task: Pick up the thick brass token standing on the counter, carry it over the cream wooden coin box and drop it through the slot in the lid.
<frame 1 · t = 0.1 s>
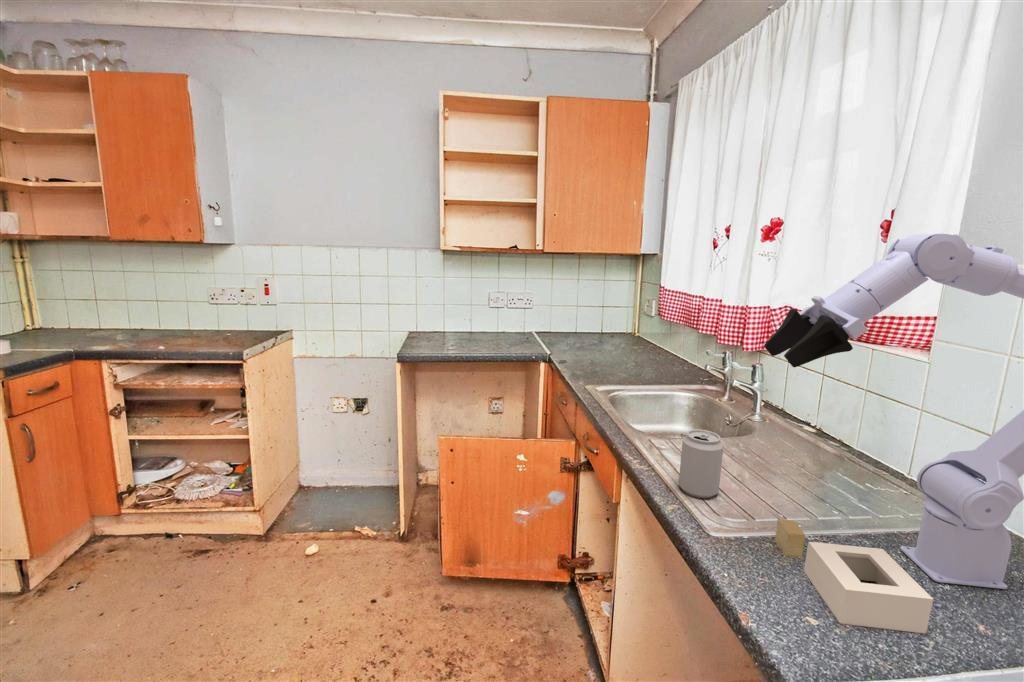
hand: (777, 356, 69), 32 cm above the countertop, tool tilted 50°, fingers open, 7 cm apart
token: (787, 549, 75), on the countertop
coin box: (859, 599, 64), on the countertop
can: (697, 491, 93), on the countertop
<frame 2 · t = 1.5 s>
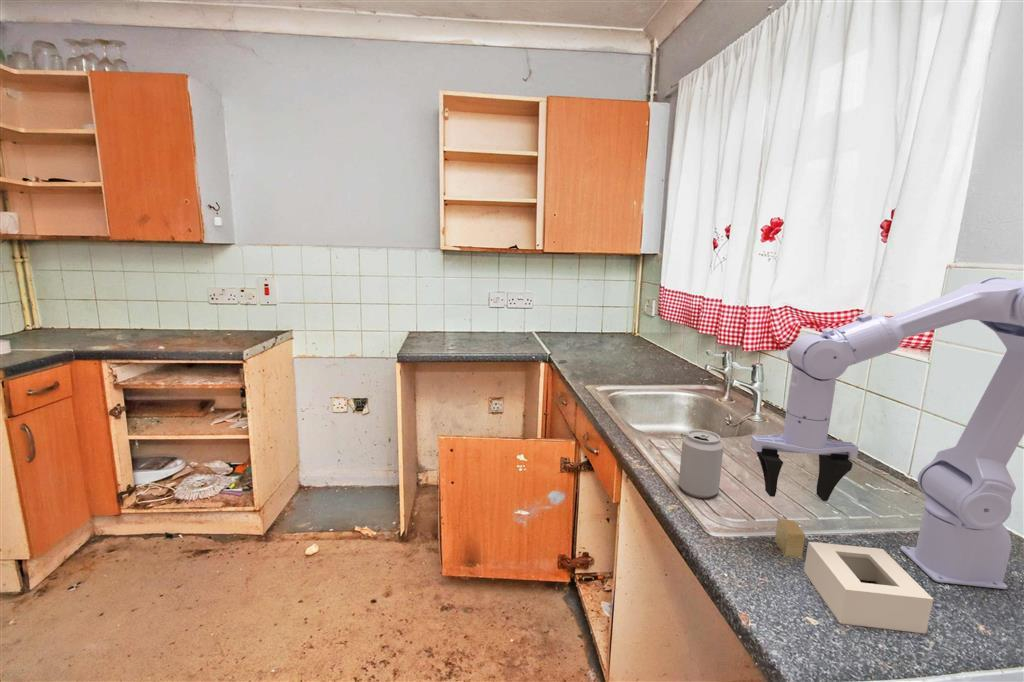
hand: (795, 495, 73), 9 cm above the countertop, tool pointing down, fingers open, 7 cm apart
nothing on the countertop moved.
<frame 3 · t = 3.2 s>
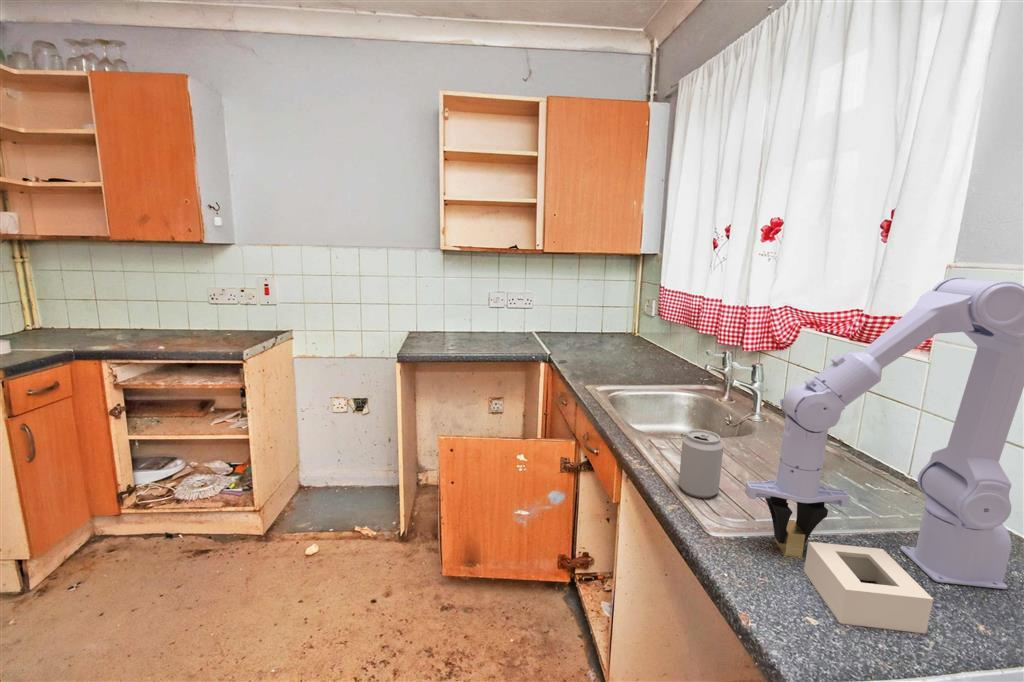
hand: (789, 540, 75), 1 cm above the countertop, tool pointing down, fingers closed on token, 2 cm apart
token: (787, 548, 75), on the countertop, touching gripper
everything else where it was.
when the fingers open (7 cm above the countertop, at t = 5.5 s): token drops 5 cm, resting in coin box.
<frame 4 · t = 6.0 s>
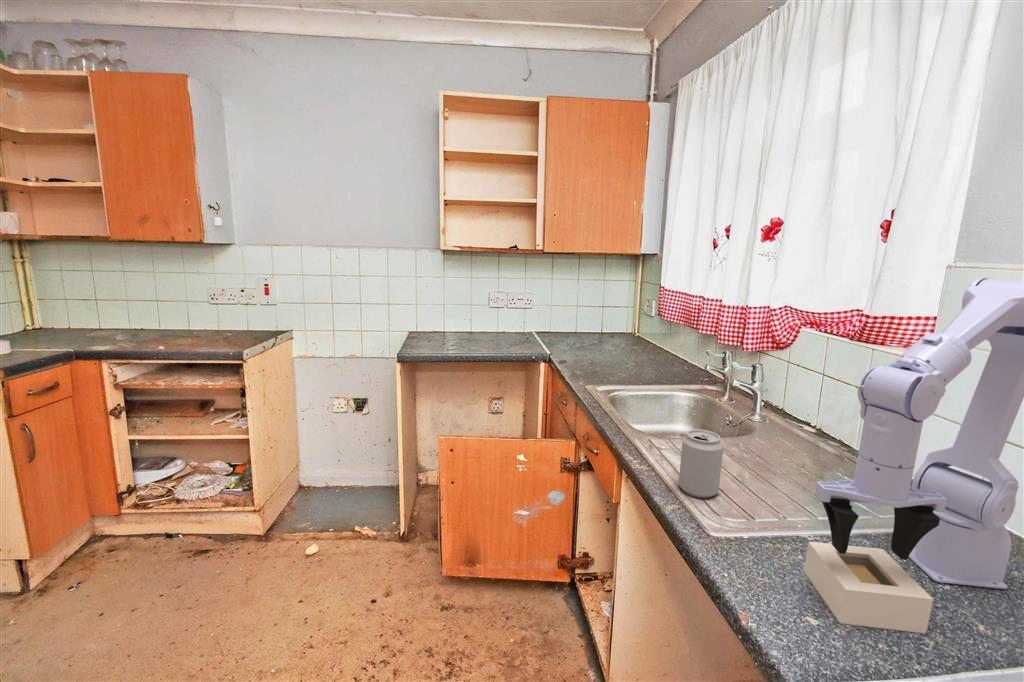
hand: (868, 552, 63), 7 cm above the countertop, tool pointing down, fingers open, 7 cm apart
token: (858, 599, 64), resting in coin box
everything else where it was.
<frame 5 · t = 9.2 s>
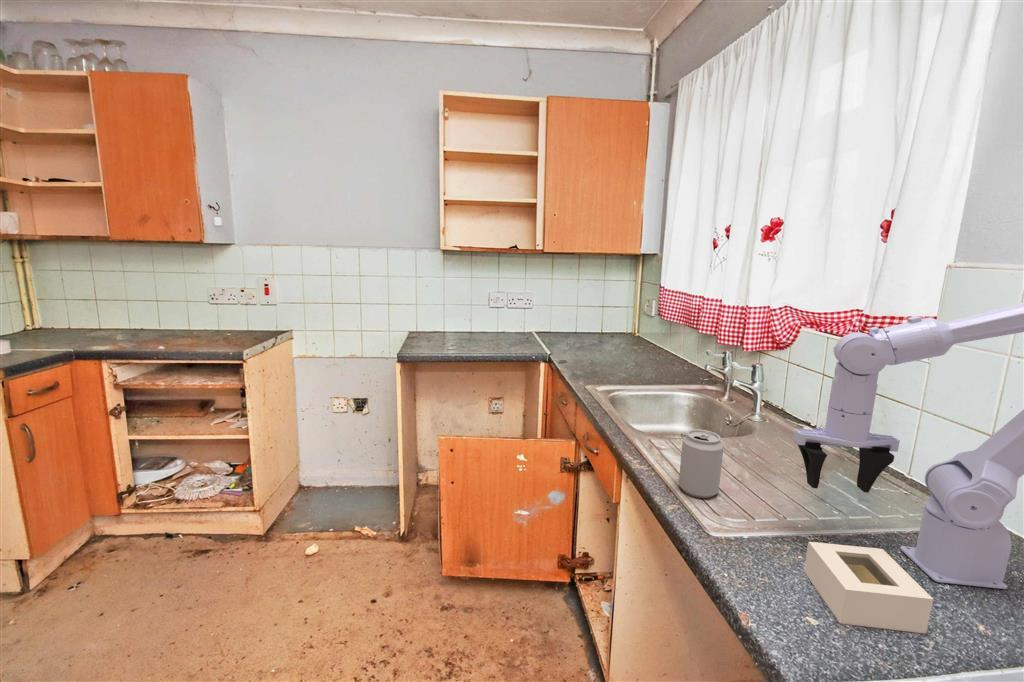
hand: (837, 487, 76), 9 cm above the countertop, tool pointing down, fingers open, 7 cm apart
nothing on the countertop moved.
at the end: token 0.1 cm off-centre on the coin box, point 0.0 cm above the coin box's base; the gripper is holding nothing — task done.
